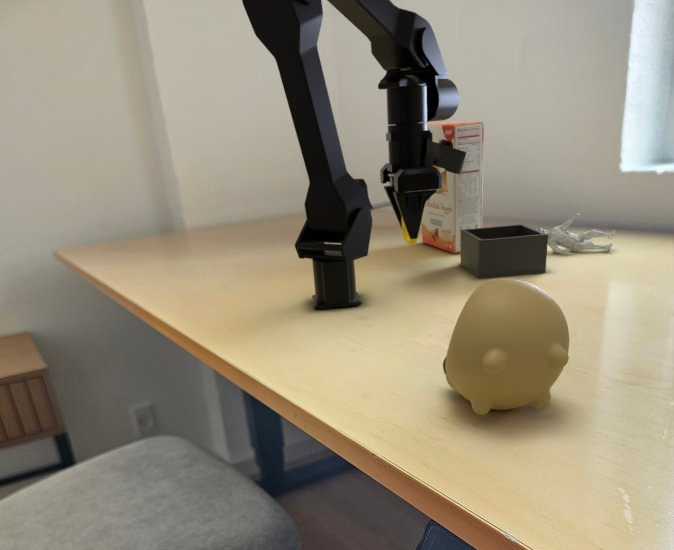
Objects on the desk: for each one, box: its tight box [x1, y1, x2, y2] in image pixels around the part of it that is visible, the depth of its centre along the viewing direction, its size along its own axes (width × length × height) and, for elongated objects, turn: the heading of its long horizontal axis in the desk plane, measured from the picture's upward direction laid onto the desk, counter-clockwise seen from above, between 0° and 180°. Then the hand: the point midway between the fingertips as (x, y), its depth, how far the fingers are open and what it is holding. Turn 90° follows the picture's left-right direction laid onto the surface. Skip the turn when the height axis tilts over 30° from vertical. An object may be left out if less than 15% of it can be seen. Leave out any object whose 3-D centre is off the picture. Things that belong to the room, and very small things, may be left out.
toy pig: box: [442, 277, 570, 416], centre depth 54 cm, size 10×12×11 cm
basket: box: [460, 223, 548, 280], centre depth 102 cm, size 11×10×6 cm
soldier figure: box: [537, 212, 616, 255], centre depth 110 cm, size 8×5×12 cm
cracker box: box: [421, 121, 485, 254], centre depth 118 cm, size 14×6×21 cm, turn 17°
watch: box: [401, 219, 420, 245], centre depth 101 cm, size 6×3×6 cm, turn 7°
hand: (410, 235), depth 102 cm, fingers closed on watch, 6 cm apart
